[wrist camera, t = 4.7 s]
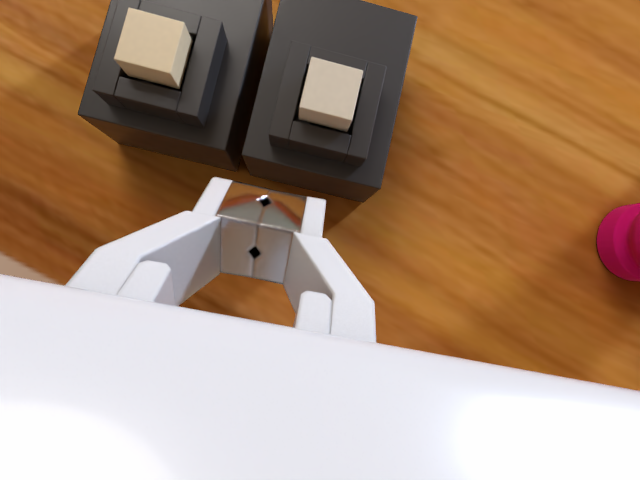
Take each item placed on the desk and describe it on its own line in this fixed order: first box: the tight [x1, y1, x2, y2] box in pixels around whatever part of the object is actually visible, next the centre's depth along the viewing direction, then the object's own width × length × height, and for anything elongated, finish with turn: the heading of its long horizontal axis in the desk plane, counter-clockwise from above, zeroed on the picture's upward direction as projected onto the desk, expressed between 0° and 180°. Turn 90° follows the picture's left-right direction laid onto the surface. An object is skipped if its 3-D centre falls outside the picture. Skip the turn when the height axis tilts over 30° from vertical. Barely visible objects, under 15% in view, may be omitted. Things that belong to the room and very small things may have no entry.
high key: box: [114, 8, 193, 89], centre depth 20 cm, size 3×3×2 cm
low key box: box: [242, 0, 417, 202], centre depth 25 cm, size 12×9×7 cm
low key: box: [299, 57, 363, 132], centre depth 21 cm, size 3×3×2 cm
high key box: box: [78, 0, 273, 172], centre depth 24 cm, size 12×9×7 cm
